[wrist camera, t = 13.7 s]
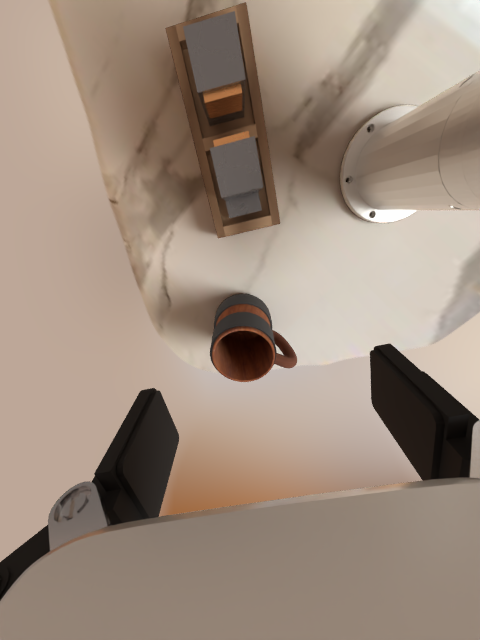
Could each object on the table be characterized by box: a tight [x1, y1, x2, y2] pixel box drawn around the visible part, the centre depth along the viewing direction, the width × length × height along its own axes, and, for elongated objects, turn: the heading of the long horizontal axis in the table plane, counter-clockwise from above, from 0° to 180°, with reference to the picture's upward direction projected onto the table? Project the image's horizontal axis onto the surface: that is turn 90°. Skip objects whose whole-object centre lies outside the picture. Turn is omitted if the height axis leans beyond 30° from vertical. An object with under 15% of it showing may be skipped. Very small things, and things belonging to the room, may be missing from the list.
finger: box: [183, 11, 246, 126], centre depth 24 cm, size 4×7×9 cm, turn 12°
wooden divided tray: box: [166, 2, 280, 238], centre depth 30 cm, size 8×20×4 cm, turn 13°
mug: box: [210, 294, 297, 382], centre depth 35 cm, size 9×12×12 cm
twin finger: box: [210, 131, 263, 218], centre depth 27 cm, size 4×7×9 cm, turn 13°
